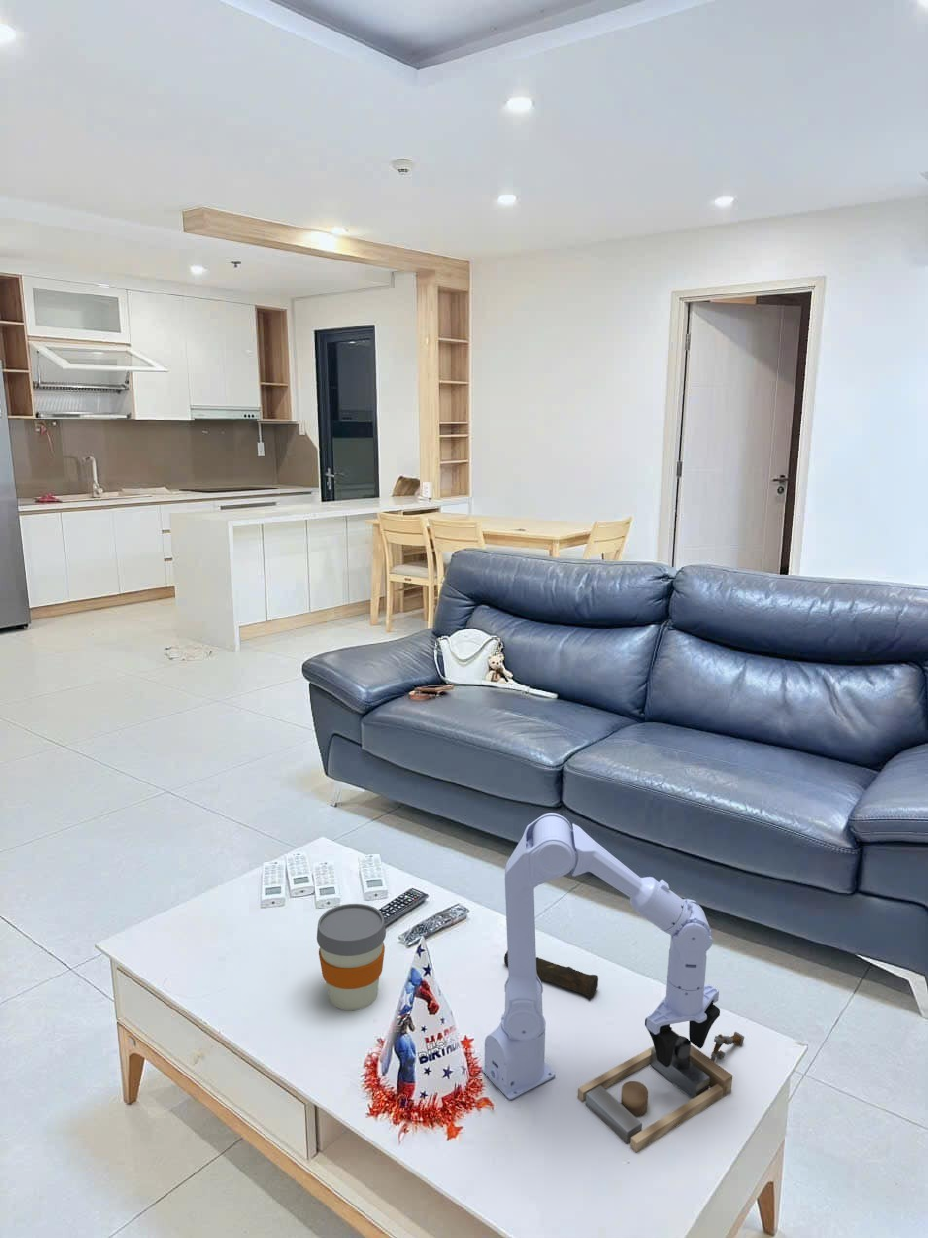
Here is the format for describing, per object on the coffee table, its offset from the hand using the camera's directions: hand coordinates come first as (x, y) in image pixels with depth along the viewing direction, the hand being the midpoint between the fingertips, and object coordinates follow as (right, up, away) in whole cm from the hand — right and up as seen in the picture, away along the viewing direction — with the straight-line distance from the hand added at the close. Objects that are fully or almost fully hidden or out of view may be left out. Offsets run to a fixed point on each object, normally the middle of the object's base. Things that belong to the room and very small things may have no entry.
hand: (680, 1053), depth 138 cm
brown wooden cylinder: (-8, -6, -4) cm, 11 cm away
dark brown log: (-19, 0, +26) cm, 32 cm away
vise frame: (-5, -5, -2) cm, 7 cm away
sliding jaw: (0, -5, +1) cm, 5 cm away
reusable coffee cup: (-55, 0, +22) cm, 59 cm away
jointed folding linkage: (+10, -4, +7) cm, 13 cm away
